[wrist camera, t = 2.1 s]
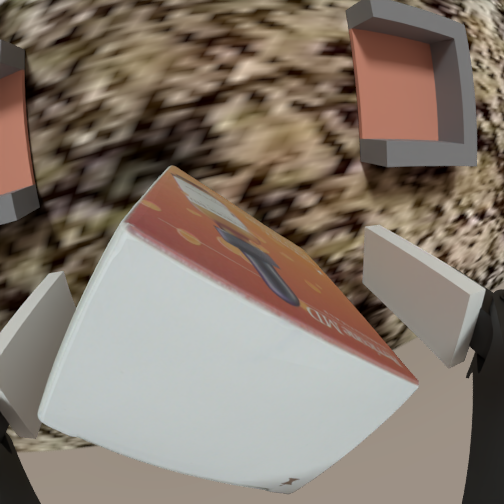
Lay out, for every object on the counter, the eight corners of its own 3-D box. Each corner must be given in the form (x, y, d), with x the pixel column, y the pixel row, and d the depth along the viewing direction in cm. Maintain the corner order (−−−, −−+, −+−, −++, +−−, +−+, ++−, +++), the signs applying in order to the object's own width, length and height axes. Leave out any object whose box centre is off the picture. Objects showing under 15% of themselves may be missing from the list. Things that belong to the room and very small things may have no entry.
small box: (303, 248, 16) (429, 385, 7) (242, 329, 18) (294, 498, 8) (170, 160, 14) (119, 213, 4) (112, 258, 15) (31, 424, 5)
